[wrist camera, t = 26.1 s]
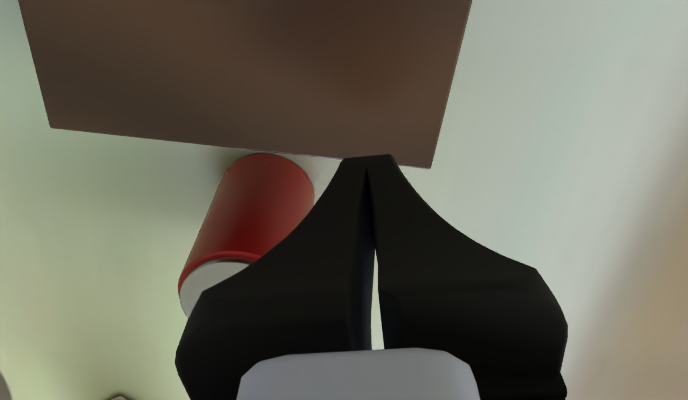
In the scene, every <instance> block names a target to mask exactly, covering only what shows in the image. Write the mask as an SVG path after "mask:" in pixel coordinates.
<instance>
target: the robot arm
mask: <svg viewBox="0 0 688 400" xmlns="http://www.w3.org/2000/svg"><path fill="white" fill-rule="evenodd" d="M375 250H376V256H377V262H378V294H379V303H380V313H381V322H382V331H383V341H384V349H382V350H372V344H371V305H372V289H373V274H374V258H375ZM567 338H568V325H567V322H566V320H565V317H564V314H563V312H562V310H561V307H560V305H559V304H558V302H557V300H556V298H555V296H554V295H553V293H552V292H551V290H550V289H549V287H548V286H547V284H546V283H545V281H544V280H543V278H542V277H541V275H540V274H539V273H538V271H537V270H536V269H535V268H533V267H530V266H528V265H525V264H523V263H520V262H518V261H515V260H513V259H510V258H508V257H505V256H503V255H500V254H498V253H496V252H494V251H492V250H490V249H488V248H486V247H484V246H482V245H481V244H479V243H477V242H475V241H474V240H472V239H470V238H469V237H467V236H466V235H464V234H463V233H461V232H460V231H458V230H457V229H455V228H454V227H453V226H451V225H450V224H449V223H448V222H446V221H445V220H444V219H443V218H442V217H440V216H439V215H438V214H437V213H436V212H435V211H434V210H433V209H432V208H431V207H430V206H429V205H428V204H427V203H426V202H425V201H424V200H423V199H422V198H421V196H420V195H419V194H418V193H417V192H416V191H415V189H414V188H413V187H412V186H411V184H410V183H409V182H408V180H407V179H406V178H405V176H404V175H403V173H402V172H401V170H400V169H399V167H398V165H397V163H396V161H395V159H394V157H393V156H392V155H391V154H383V155H372V156H361V157H350V158H344V159H343V160H342V161H341V163H340V165H339V167H338V169H337V171H336V173H335V175H334V176H333V178H332V180H331V181H330V183H329V185H328V186H327V188H326V189H325V191H324V192H323V194H322V195H321V197H320V198H319V200H318V201H317V202H316V204H315V205H314V206H313V208H312V209H311V210H310V211H309V213H308V214H307V215H306V216H305V218H304V219H303V220H302V221H301V222H300V223H299V224H298V226H297V227H296V228H295V229H294V230H293V231H292V232H291V233H290V234H289V235H288V236H287V237H285V238H284V239H283V240H282V241H281V242H279V243H278V244H277V245H276V246H275V247H273V248H272V249H271V250H270V251H269V252H267V253H266V254H265V255H263V256H262V257H261V258H259V259H258V260H256V261H255V262H253V263H252V264H250V265H249V266H247V267H246V268H244V269H243V270H241V271H239V272H238V273H236V274H234V275H232V276H231V277H229V278H227V279H225V280H223V281H221V282H219V283H217V284H216V285H214V286H212V287H210V288H208V289H206V290H204V291H202V292H201V294H200V296H199V299H198V300H197V302H196V304H195V306H194V308H193V310H192V312H191V314H190V316H189V319H188V321H187V324H186V326H185V329H184V332H183V334H182V337H181V340H180V342H179V345H178V348H177V350H176V358H175V365H176V368H177V372H178V375H179V377H180V379H181V381H182V383H183V385H184V387H185V389H186V391H187V393H188V395H189V397H190V399H191V400H565V398H566V396H567V388H566V385H565V383H564V380H563V378H562V375H561V373H560V371H561V367H562V362H563V357H564V352H565V348H566V343H567Z"/></svg>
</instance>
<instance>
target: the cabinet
mask: <svg viewBox="0 0 688 400" xmlns="http://www.w3.org/2000/svg"><path fill="white" fill-rule="evenodd" d="M18 2H19V6H20V10H21V14H22V18H23V22H24V26H25V30H26V34H27V38H28V41H29V45H30V49H31V53H32V57H33V61H34V65H35V69H36V73H37V77H38V81H39V85H40V89H41V93H42V97H43V101H44V105H45V109H46V112H47V116H48V120H49V124H50V127H51V128H55V129H65V130H74V131H83V132H92V133H101V134H111V135H120V136H129V137H138V138H147V139H157V140H166V141H175V142H184V143H193V144H202V145H212V146H221V147H230V148H239V149H248V150H258V151H267V152H276V153H285V154H294V155H304V156H313V157H322V158H331V159H340V160H343V159H344V158H350V157H361V156H372V155H383V154H391V155H392V156H393V157H394V159H395V161H396V163H397V165H398V166H405V167H414V168H423V169H430V168H431V165H432V161H433V157H434V153H435V149H436V145H437V141H438V137H439V133H440V129H441V125H442V121H443V117H444V113H445V109H446V105H447V101H448V97H449V93H450V89H451V85H452V80H453V76H454V72H455V68H456V64H457V60H458V56H459V52H460V48H461V44H462V40H463V36H464V32H465V28H466V24H467V20H468V16H469V12H470V8H471V4H472V0H18Z"/></svg>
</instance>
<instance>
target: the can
mask: <svg viewBox="0 0 688 400" xmlns="http://www.w3.org/2000/svg"><path fill="white" fill-rule="evenodd" d="M313 206H314V189H313V185H312V183H311V181H310V179H309V177H308V176H307V174H306V173H305V172H304V171H303V170H302V169H301V168H300V167H299V166H298V165H296V164H295V163H293V162H292V161H290V160H288V159H286V158H283V157H281V156H277V155H272V154H253V155H249V156H246V157H243V158H241V159H239V160H237V161H236V162H234V163H233V164H232V165H231V166H230V167H229V168H228V169H227V170H226V172H225V173H224V175H223V177H222V180H221V182H220V184H219V187H218V189H217V191H216V194H215V196H214V198H213V201H212V203H211V205H210V208H209V210H208V212H207V215H206V217H205V219H204V222H203V224H202V226H201V229H200V231H199V233H198V236H197V238H196V240H195V243H194V245H193V247H192V250H191V252H190V254H189V257H188V259H187V261H186V264H185V266H184V268H183V271H182V273H181V275H180V278H179V282H178V293H179V298H180V303H181V307H182V309H183V311H184V313H185V315H186V316H187V317H188V319H189V316H190V314H191V312H192V310H193V308H194V306H195V304H196V302H197V300H198V299H199V296H200V294H201V292H202V291H204V290H206V289H208V288H210V287H212V286H214V285H216V284H217V283H219V282H221V281H223V280H225V279H227V278H229V277H231V276H232V275H234V274H236V273H238V272H239V271H241V270H243V269H244V268H246V267H247V266H249V265H250V264H252V263H253V262H255V261H256V260H258V259H259V258H261V257H262V256H263V255H265V254H266V253H267V252H269V251H270V250H271V249H272V248H273V247H275V246H276V245H277V244H278V243H279V242H281V241H282V240H283V239H284V238H285V237H287V236H288V235H289V234H290V233H291V232H292V231H293V230H294V229H295V228H296V227H297V226H298V224H299V223H300V222H301V221H302V220H303V219H304V218H305V216H306V215H307V214H308V213H309V211H310V210H311V209H312V208H313Z"/></svg>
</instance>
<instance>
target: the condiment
mask: <svg viewBox="0 0 688 400" xmlns="http://www.w3.org/2000/svg"><path fill="white" fill-rule="evenodd" d="M111 400H126V399H125V398H123V397H122V396H118V397H116V398H114V399H111Z"/></svg>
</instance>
